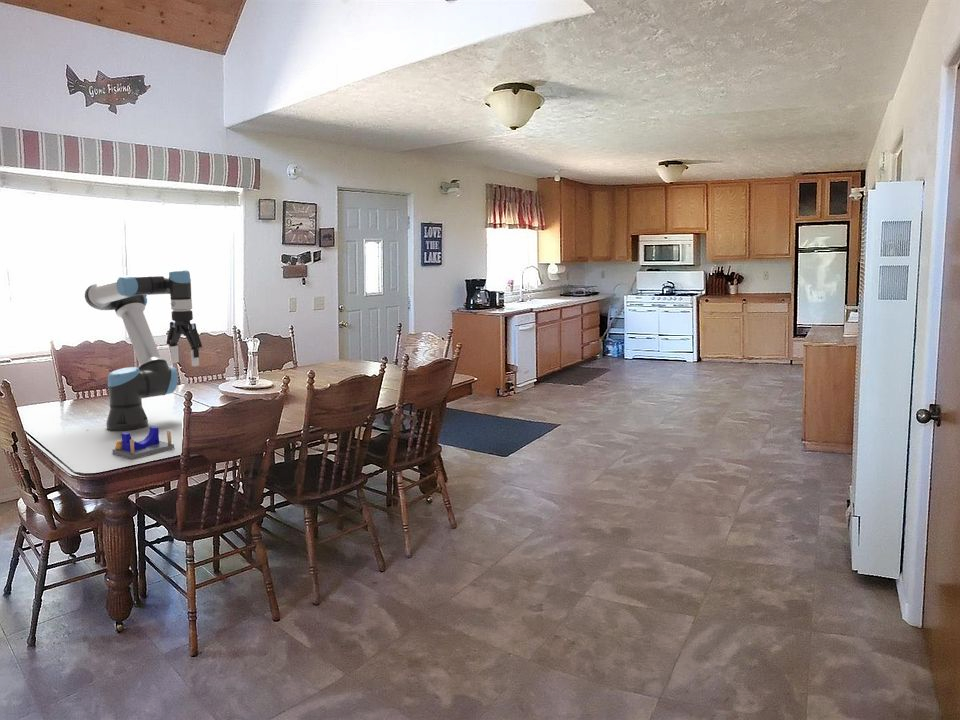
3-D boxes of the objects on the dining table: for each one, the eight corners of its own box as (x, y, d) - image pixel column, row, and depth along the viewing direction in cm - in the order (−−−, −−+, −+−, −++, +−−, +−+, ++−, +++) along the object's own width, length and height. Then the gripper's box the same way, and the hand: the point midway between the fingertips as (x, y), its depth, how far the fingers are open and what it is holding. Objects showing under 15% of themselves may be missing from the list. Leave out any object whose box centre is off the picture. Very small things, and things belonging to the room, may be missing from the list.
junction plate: (112, 453, 251) (111, 435, 250) (154, 443, 264) (153, 426, 263) (132, 459, 244) (130, 440, 243) (174, 448, 258) (173, 430, 257)
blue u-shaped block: (129, 451, 248) (128, 435, 247) (122, 449, 250) (121, 433, 249) (161, 444, 258) (160, 428, 257) (154, 442, 260) (153, 426, 259)
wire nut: (113, 447, 251) (114, 440, 250) (120, 447, 253) (121, 439, 252) (117, 449, 249) (118, 442, 249) (123, 449, 251) (125, 441, 251)
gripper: (154, 309, 281) (158, 362, 284) (191, 312, 267) (195, 368, 270) (172, 307, 287) (175, 360, 290) (209, 311, 273) (212, 366, 276)
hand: (185, 364), depth 280 cm, fingers open, 13 cm apart
